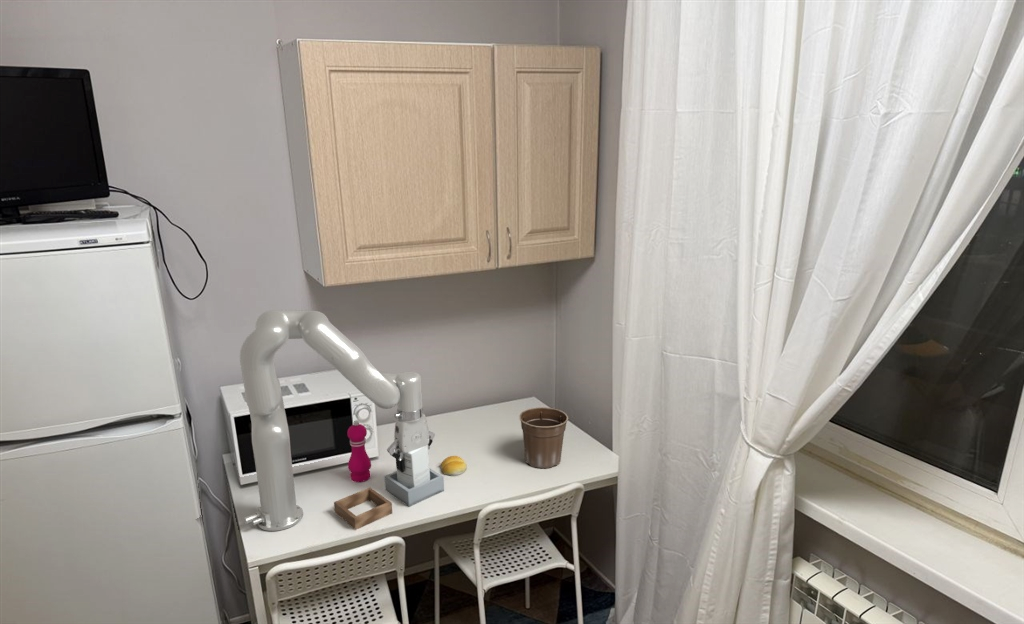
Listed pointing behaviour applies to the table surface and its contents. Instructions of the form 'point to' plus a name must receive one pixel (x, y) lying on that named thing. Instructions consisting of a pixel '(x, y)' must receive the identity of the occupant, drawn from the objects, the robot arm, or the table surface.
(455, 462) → the bread roll
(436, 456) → the table surface
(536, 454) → the plant pot
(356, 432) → the pepper mill
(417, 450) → the supplement box
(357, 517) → the walnut frame
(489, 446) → the table surface
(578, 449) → the table surface
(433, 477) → the grey bin
